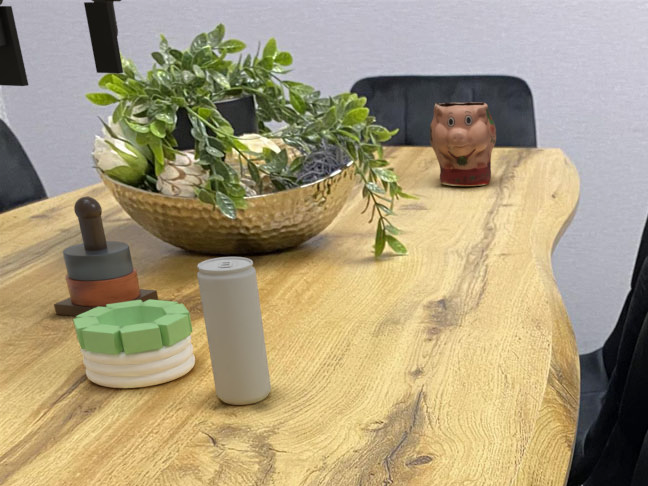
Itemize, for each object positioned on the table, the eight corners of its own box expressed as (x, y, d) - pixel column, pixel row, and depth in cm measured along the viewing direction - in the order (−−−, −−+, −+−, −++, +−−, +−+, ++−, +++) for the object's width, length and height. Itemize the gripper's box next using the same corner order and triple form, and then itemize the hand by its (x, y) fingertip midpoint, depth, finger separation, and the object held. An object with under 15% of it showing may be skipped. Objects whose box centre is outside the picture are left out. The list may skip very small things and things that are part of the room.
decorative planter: (430, 173, 189) (427, 97, 182) (492, 172, 189) (491, 95, 183) (432, 193, 171) (428, 108, 165) (501, 191, 172) (500, 107, 165)
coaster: (81, 395, 87) (73, 358, 86) (92, 359, 96) (84, 325, 94) (196, 383, 90) (189, 347, 88) (196, 349, 98) (190, 315, 97)
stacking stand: (55, 314, 110) (29, 202, 104) (101, 295, 116) (79, 188, 110) (115, 320, 107) (91, 205, 101) (158, 300, 114) (138, 191, 108)
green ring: (55, 348, 88) (50, 326, 87) (124, 316, 97) (120, 296, 96) (148, 358, 86) (144, 336, 85) (211, 324, 94) (207, 304, 93)
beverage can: (214, 408, 84) (192, 272, 79) (219, 388, 88) (198, 258, 83) (271, 404, 85) (252, 269, 79) (273, 384, 89) (256, 254, 84)
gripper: (-69, -211, 73) (0, 93, 83) (138, -170, 94) (173, 69, 104) (-145, -205, 75) (-68, 90, 85) (74, -166, 96) (115, 67, 106)
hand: (64, 79), depth 95 cm, fingers open, 13 cm apart
